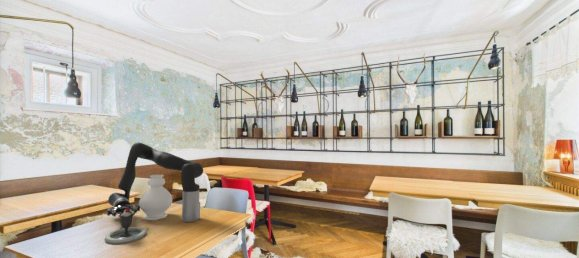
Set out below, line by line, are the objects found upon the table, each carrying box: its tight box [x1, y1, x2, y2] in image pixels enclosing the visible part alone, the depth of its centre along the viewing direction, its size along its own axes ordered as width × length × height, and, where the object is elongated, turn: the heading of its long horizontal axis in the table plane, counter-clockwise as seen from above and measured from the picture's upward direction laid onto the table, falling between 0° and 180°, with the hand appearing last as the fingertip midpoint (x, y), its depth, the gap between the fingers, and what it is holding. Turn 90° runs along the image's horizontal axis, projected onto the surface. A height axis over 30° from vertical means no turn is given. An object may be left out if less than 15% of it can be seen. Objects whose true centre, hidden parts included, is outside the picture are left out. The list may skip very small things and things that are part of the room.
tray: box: [104, 226, 147, 245], centre depth 120 cm, size 17×17×2 cm
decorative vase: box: [138, 173, 173, 221], centre depth 150 cm, size 18×18×25 cm
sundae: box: [118, 205, 136, 237], centre depth 121 cm, size 7×7×15 cm
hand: (125, 212), depth 125 cm, fingers open, 8 cm apart
